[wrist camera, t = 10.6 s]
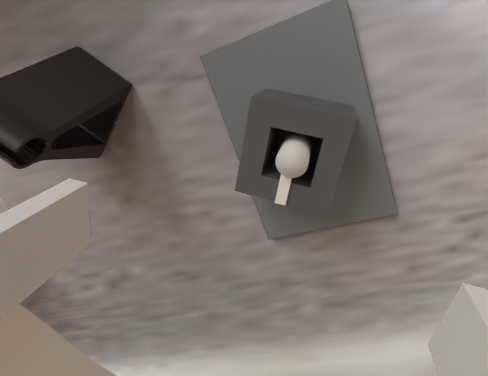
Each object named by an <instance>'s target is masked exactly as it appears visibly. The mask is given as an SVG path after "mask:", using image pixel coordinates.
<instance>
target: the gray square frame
mask: <svg viewBox="0 0 488 376" xmlns="http://www.w3.org/2000/svg"><path fill="white" fill-rule="evenodd" d="M356 121H357V117H356V113H355V110H354V107H353V106H352V105H347V104H342V103H337V102H332V101H327V100H322V99H318V98H313V97H308V96H303V95H298V94H293V93H288V92H283V91H278V90H273V89H268V88H267V89H265V90H263V91H261V92H259V93H257V94H255V95H253V96H251V99H250V105H249V111H248V117H247V123H246V129H245V135H244V141H243V147H242V153H241V159H240V165H239V171H238V177H237V183H236V189H235V191H238V192H242V193H246V194H249V195H253V196H257V197H261V198H265V199H269V200H272V201H275V203H277V204H281V205H286V204H288V205H292V206H295V207H299V208H303V209H307V210H311V211H315V212H318V213H322V214H326V215H328V213H329V210H330V207H331V203H332V200H333V197H334V194H335V190H336V187H337V184H338V180H339V177H340V174H341V171H342V167H343V164H344V161H345V157H346V154H347V151H348V148H349V144H350V141H351V138H352V134H353V131H354V128H355V125H356ZM280 129H282V130H287V131H291V132H296V133H300V134H304V135H309V136H313V137H318V138H322V139H321V143H320V147H319V150H318V154H317V158H316V162H315V163H314V162H309V164H308V168H307V170H306V171H305V173H304V174H302V175H301V176H299V177H296V178H289V177H286V176H284V175H282V174H281V173H280V172H279V171H278V169H277V167H276V163H275V160H276V156H277V154H276V153H275V150H276V146H277V141H278V136H279V132H280Z"/></svg>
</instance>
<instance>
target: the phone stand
mask: <svg viewBox="0 0 488 376" xmlns="http://www.w3.org/2000/svg"><path fill="white" fill-rule="evenodd" d="M131 86H132V84H131V83H129V82H128V81H126V80H125V79H123V78H122V77H121V76H119V75H118V74H116V73H115V72H114V71H112V70H111V69H109V68H108V67H107V66H105V65H104V64H102V63H101V62H100V61H98V60H97V59H95V58H94V57H92V56H91V55H90V54H88V53H87V52H85V51H84V50H83V49H81V48H80V47H78V46H77V47H75V48H72V49H70V50H67V51H65V52H62V53H60V54H58V55H55V56H53V57H50V58H48V59H45V60H43V61H41V62H38V63H36V64H33V65H31V66H28V67H26V68H24V69H21V70H19V71H16V72H14V73H11V74H9V75H7V76H4V77H2V78H0V158H1V159H3V160H4V161H6V162H7V163H9V164H10V165H12V166H13V167H14V168H17V169H22V168H25V167H28V166H30V165H31V164H33V163H36V162H38V161H42V160H54V159H78V158H99V157H100V156H101V155H102V153H103V150H104V148H105V146H106V144H107V141H108V139H109V137H110V134H111V132H112V130H113V128H114V125H115V121H117V118H118V116H119V114H120V112H121V109H122V107H123V105H124V102H125V100H126V98H127V96H128V93H129V91H130V89H131Z"/></svg>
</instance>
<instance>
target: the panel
mask: <svg viewBox="0 0 488 376" xmlns="http://www.w3.org/2000/svg"><path fill="white" fill-rule="evenodd" d="M200 58H201V61H202V63H203V66H204V69H205V71H206V74H207V77H208V79H209V82H210V85H211V87H212V90H213V93H214V95H215V98H216V101H217V103H218V106H219V109H220V111H221V114H222V117H223V119H224V122H225V125H226V127H227V130H228V133H229V135H230V138H231V141H232V143H233V146H234V149H235V151H236V154H237V157H238V159H239V162H240V159H241V153H242V147H243V141H244V135H245V129H246V123H247V117H248V111H249V105H250V99H251V96H253V95H255V94H257V93H259V92H261V91H263V90H265V89H267V88H268V89H273V90H278V91H283V92H288V93H293V94H298V95H303V96H308V97H313V98H318V99H322V100H327V101H332V102H337V103H342V104H347V105H352V106H353V107H354V110H355V113H356V117H357V121H356V125H355V128H354V131H353V134H352V138H351V141H350V144H349V148H348V151H347V154H346V157H345V161H344V164H343V167H342V171H341V174H340V177H339V180H338V184H337V187H336V190H335V194H334V197H333V200H332V203H331V207H330V210H329V213H328V215H326V214H322V213H318V212H315V211H311V210H307V209H303V208H299V207H295V206H292V205H288V204H286V205H281V204H277V203H275V201H272V200H269V199H265V198H261V197H257V196H253V195H252V197H253V199H254V202H255V205H256V207H257V210H258V213H259V215H260V218H261V221H262V223H263V226H264V229H265V231H266V234H267V237H268V239H273V238H279V237H284V236H289V235H294V234H299V233H304V232H309V231H314V230H319V229H324V228H329V227H335V226H340V225H345V224H350V223H355V222H360V221H365V220H370V219H375V218H380V217H385V216H390V215H396V214H397V211H396V207H395V202H394V198H393V194H392V190H391V186H390V181H389V177H388V173H387V169H386V165H385V160H384V156H383V152H382V148H381V144H380V139H379V135H378V131H377V127H376V123H375V118H374V114H373V110H372V106H371V102H370V97H369V93H368V89H367V85H366V81H365V76H364V72H363V68H362V64H361V59H360V55H359V51H358V47H357V43H356V38H355V34H354V30H353V26H352V22H351V17H350V13H349V9H348V5H347V1H346V0H332V1H329V2H327V3H325V4H322V5H320V6H318V7H315V8H313V9H311V10H308V11H306V12H304V13H301V14H299V15H297V16H294V17H292V18H290V19H287V20H285V21H283V22H280V23H278V24H276V25H273V26H271V27H269V28H266V29H264V30H262V31H259V32H257V33H255V34H252V35H250V36H248V37H245V38H243V39H241V40H238V41H236V42H234V43H231V44H229V45H227V46H224V47H222V48H220V49H217V50H215V51H213V52H210V53H208V54H206V55H203V56H201V57H200ZM321 139H322V138H318V137H313V136H309V135H304V134H300V133H296V132H291V131H287V130H282V129H280V132H279V136H278V141H277V146H276V150H275V153H276V154H277V156H276V160H275V163H276V167H277V169H278V171H279V172H280V173H281V174H282V175H284V176H286V177H289V178H296V177H299V176H301V175H302V174H304V173H305V171H306V170H307V168H308V164H309V162H314V163H315V162H316V158H317V154H318V150H319V147H320V143H321Z"/></svg>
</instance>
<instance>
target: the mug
mask: <svg viewBox="0 0 488 376" xmlns="http://www.w3.org/2000/svg"><path fill="white" fill-rule="evenodd" d="M7 210H9V208H8V207H7V205H6V204H5V202H4V201H3V200H2V199H1V198H0V214H1V213H3V212H5V211H7Z"/></svg>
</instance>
